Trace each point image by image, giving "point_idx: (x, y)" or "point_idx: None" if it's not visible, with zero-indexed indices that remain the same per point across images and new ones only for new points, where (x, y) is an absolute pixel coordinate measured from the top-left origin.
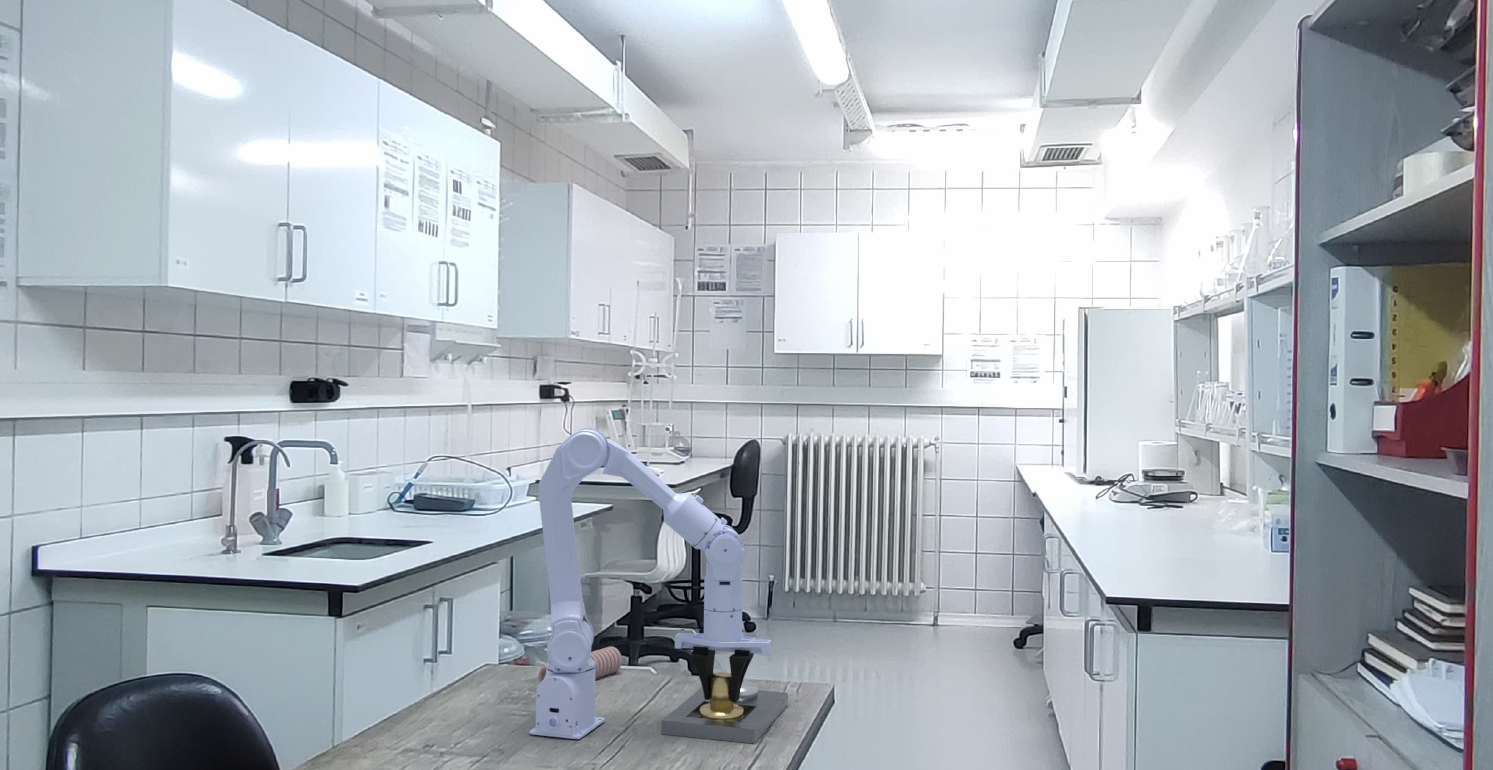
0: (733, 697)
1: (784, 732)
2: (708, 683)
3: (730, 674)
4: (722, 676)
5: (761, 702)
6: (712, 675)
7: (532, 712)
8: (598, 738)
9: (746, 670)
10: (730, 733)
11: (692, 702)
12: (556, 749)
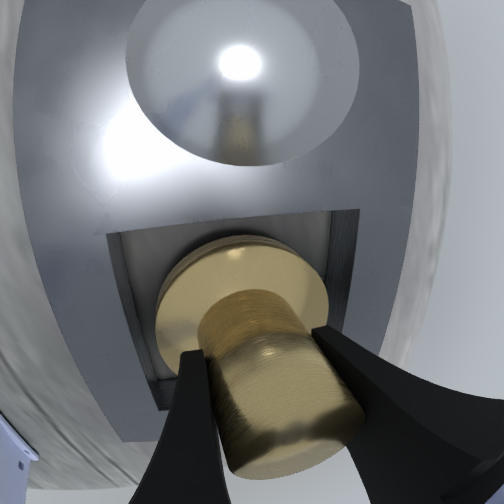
0: None
1: (407, 276)
2: (219, 449)
3: (342, 419)
4: (303, 456)
5: (367, 149)
6: (245, 472)
7: None
8: (49, 445)
9: (437, 386)
10: None
11: (72, 272)
12: (52, 474)
